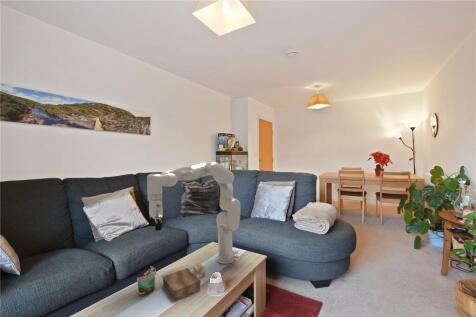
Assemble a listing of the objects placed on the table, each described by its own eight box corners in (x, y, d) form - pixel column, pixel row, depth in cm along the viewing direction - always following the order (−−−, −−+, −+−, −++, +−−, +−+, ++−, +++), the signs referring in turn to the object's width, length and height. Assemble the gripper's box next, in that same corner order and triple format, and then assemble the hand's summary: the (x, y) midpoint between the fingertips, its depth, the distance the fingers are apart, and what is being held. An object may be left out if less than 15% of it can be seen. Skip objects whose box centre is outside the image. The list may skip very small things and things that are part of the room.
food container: (148, 299, 112) (147, 279, 112) (137, 297, 113) (136, 277, 113) (161, 284, 124) (160, 266, 124) (151, 283, 125) (150, 265, 125)
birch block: (201, 272, 136) (200, 262, 136) (205, 276, 132) (204, 266, 131) (193, 275, 133) (193, 265, 133) (197, 279, 129) (196, 268, 129)
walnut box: (187, 276, 131) (187, 268, 131) (200, 290, 118) (200, 280, 118) (162, 285, 123) (162, 276, 123) (173, 301, 110) (173, 291, 109)
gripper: (167, 198, 118) (168, 230, 119) (157, 193, 132) (157, 222, 133) (152, 200, 114) (153, 233, 115) (143, 195, 128) (144, 225, 128)
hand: (155, 227), depth 124 cm, fingers open, 9 cm apart
